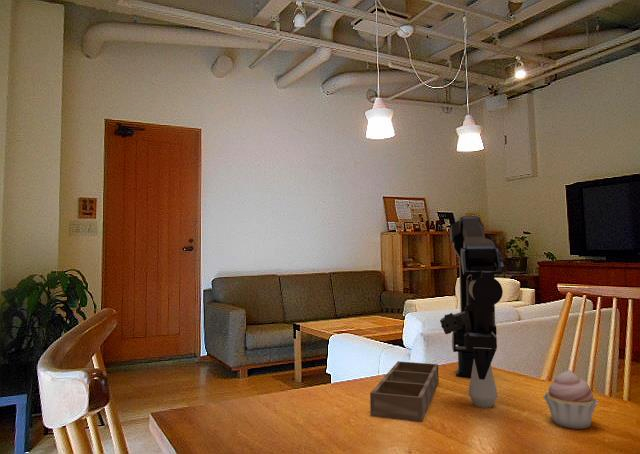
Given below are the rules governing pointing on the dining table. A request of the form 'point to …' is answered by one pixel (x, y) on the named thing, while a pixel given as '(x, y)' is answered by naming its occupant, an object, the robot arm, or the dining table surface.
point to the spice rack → (405, 391)
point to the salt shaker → (482, 388)
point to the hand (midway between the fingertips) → (482, 373)
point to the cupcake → (570, 401)
